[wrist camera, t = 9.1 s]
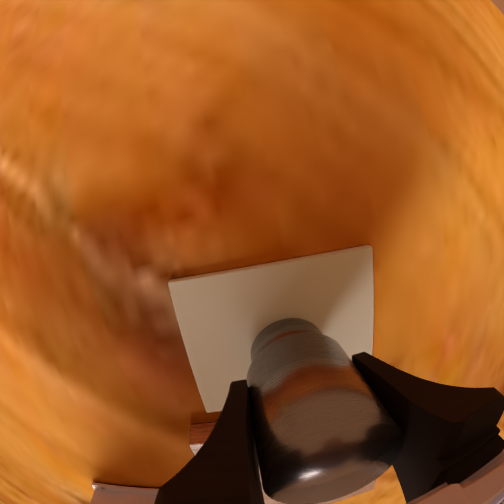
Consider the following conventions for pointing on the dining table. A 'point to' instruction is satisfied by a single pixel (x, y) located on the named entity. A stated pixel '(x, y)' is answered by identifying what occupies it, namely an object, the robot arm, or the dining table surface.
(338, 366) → the grey metal cylinder
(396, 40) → the dining table surface
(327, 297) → the pad
